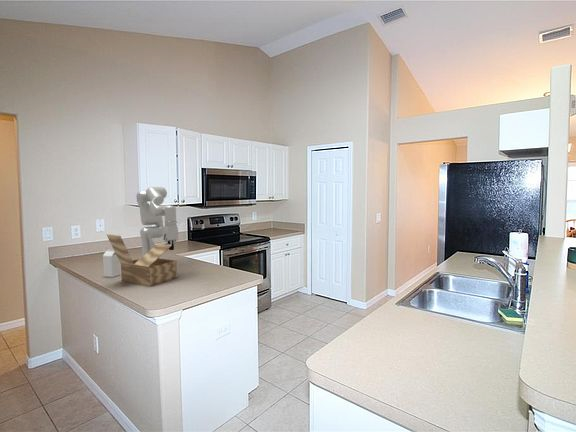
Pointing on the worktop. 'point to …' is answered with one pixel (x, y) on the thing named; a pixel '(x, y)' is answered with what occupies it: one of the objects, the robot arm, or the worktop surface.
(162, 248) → the flap
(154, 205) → the robot arm
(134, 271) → the carton
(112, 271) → the milk carton
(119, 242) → the flap
